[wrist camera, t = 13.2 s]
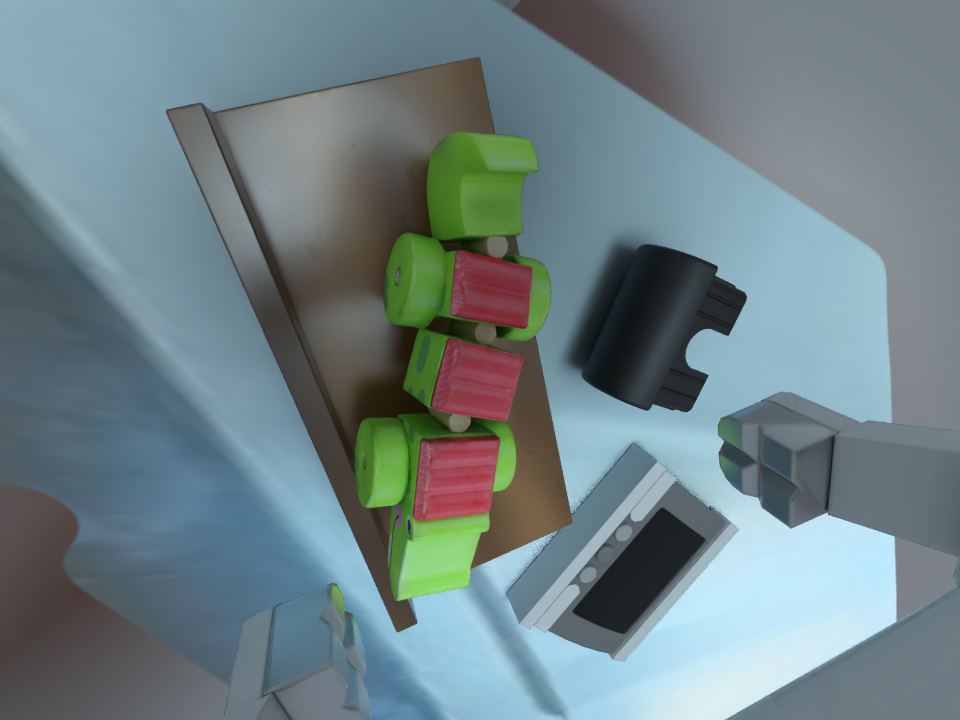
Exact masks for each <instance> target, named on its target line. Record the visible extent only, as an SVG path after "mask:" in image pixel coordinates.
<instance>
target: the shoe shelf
mask: <svg viewBox="0 0 960 720" xmlns="http://www.w3.org/2000/svg"><path fill="white" fill-rule="evenodd" d="M166 114H167V116H168V118H169V120H170V123H171V125H172V127H173V129H174V132H175V134H176V136H177V138H178V141H179V143H180V145H181V147H182V150H183V152H184V154H185V156H186V159H187V161H188V163H189V165H190V168H191V170H192V172H193V174H194V177H195V179H196V181H197V183H198V186H199V188H200V190H201V192H202V195H203V197H204V199H205V201H206V204H207V206H208V208H209V210H210V213H211V215H212V217H213V219H214V222H215V224H216V226H217V228H218V231H219V233H220V235H221V237H222V240H223V242H224V244H225V246H226V249H227V251H228V253H229V255H230V258H231V260H232V262H233V264H234V267H235V269H236V271H237V273H238V276H239V278H240V280H241V282H242V285H243V287H244V289H245V291H246V294H247V296H248V298H249V300H250V303H251V305H252V307H253V310H254V312H255V314H256V316H257V319H258V321H259V323H260V325H261V328H262V330H263V332H264V334H265V337H266V339H267V341H268V343H269V346H270V348H271V350H272V352H273V355H274V357H275V359H276V361H277V364H278V366H279V368H280V370H281V373H282V375H283V377H284V379H285V382H286V384H287V386H288V388H289V391H290V393H291V395H292V397H293V400H294V402H295V404H296V406H297V409H298V411H299V413H300V415H301V418H302V420H303V422H304V424H305V427H306V429H307V431H308V433H309V436H310V438H311V440H312V442H313V445H314V447H315V449H316V451H317V454H318V456H319V458H320V460H321V463H322V465H323V467H324V469H325V472H326V474H327V476H328V478H329V481H330V483H331V485H332V487H333V490H334V492H335V494H336V496H337V499H338V501H339V503H340V506H341V508H342V510H343V512H344V515H345V517H346V519H347V521H348V524H349V526H350V528H351V530H352V533H353V535H354V537H355V539H356V542H357V544H358V546H359V548H360V551H361V553H362V555H363V557H364V560H365V562H366V564H367V566H368V569H369V571H370V573H371V575H372V578H373V580H374V582H375V584H376V587H377V589H378V591H379V593H380V596H381V598H382V600H383V602H384V605H385V607H386V609H387V611H388V614H389V616H390V618H391V620H392V623H393V625H394V627H395V629H396V631H397V632H400V631H402V630H404V629H406V628H409V627H411V626H413V625H415V624H417V619H416V614H415V610H414V606H413V601H412V598H409V599H404V600H400V601H396V600H395V599H394V596H393V593H392V588H391V580H390V572H389V568H388V547H389V536H390V521H391V508H392V506H383V507H373V508H366V507H364V506H363V505H362V504H361V502H360V500H359V497H358V493H357V488H356V482H355V447H356V439H357V434H358V430H359V427H360V425H361V423H362V421H363V420H364V419H366V418H397V417H398V415H399V414H418V413H430V412H429V410H428V407H427V406H426V405H424V404H423V403H422V402H421V401H419V400H418V399H417V398H415V397H414V396H413V395H411V394H410V393H408V392H407V391H405V390H404V388H403V384H404V381H405V378H406V374H407V370H408V366H409V362H410V359H411V355H412V351H413V348H414V344H415V339H416V336H417V333H418V329H419V328H417V327H411V326H402V325H396V324H393V323H391V322H390V321H389V320H388V319H387V316H386V313H385V308H384V282H385V275H386V268H387V265H388V261H389V257H390V254H391V252H392V249H393V247H394V245H395V242H396V241H397V239H398V238H399V237H400V236H401V235H402V234H404V233H413V234H418V235H422V236H426V237H429V238H432V232H431V225H430V218H429V210H428V202H427V175H428V168H429V162H430V158H431V155H432V152H433V149H434V148H435V147H436V145H437V144H438V143H439V142H440V141H441V140H443V139H444V138H445V137H446V136H448V135H449V134H451V133H454V132H469V133H481V134H493V135H495V131H494V126H493V121H492V116H491V111H490V106H489V101H488V96H487V91H486V86H485V81H484V76H483V71H482V66H481V61H480V58H479V57H476V58H471V59H466V60H461V61H456V62H452V63H447V64H442V65H437V66H432V67H428V68H423V69H418V70H413V71H408V72H404V73H399V74H394V75H389V76H384V77H380V78H375V79H370V80H365V81H360V82H356V83H351V84H346V85H341V86H336V87H332V88H327V89H322V90H317V91H312V92H308V93H303V94H298V95H293V96H289V97H284V98H279V99H274V100H269V101H265V102H260V103H255V104H250V105H245V106H241V107H236V108H231V109H226V110H221V111H217V112H212V111H211V110H210V109H209V108H207V107H206V106H205V105H204V104H202V103H196V104H191V105H186V106H181V107H176V108H172V109H167V110H166ZM506 240H507V243H508V250H507V253H506V254H505V255H504V256H503V257H502V258H504V257H505V256H508V255H518V256H519V251H518V246H517V241H516V236H513V237H509V238H506ZM440 244H441V245H442V246H443V248H444V250H445V251H447V252H451V251H459V250H461V247H462V245H461V244H460V243H459V242H449V243H440ZM450 321H451V318H441V319H436V318H434V319H433V321H432V322H431V323H430V324H429V325H428V326H427V327H425V328H427V329H431V330H434V331H438V332H442V333H448V332H449V330H450ZM489 345H492V346H495V347H498V348H500V349H504V350H508V351H511V352H514V353H517V354H519V355H521V356H523V357H524V360H523V364H522V367H521V371H520V375H519V379H518V383H517V387H516V390H515V394H514V398H513V402H512V405H511V409H510V413H509V417H508V420H507V421H506V422H507V423H508V425H509V427H510V429H511V432H512V434H513V437H514V442H515V448H516V469H515V473H514V477H513V479H512V481H511V483H510V484H509V486H508V487H507V488H505V489H504V490H501V491H495V492H493V495H492V503H491V509H490V511H489V518H490V525H489V530H488V531H487V532H481V534H480V537H479V541H478V543H477V547H476V550H475V554H474V557H473V560H472V563H471V568H470V569H472V568H474V567H476V566H479V565H481V564H483V563H485V562H488V561H490V560H492V559H494V558H497V557H499V556H501V555H503V554H506V553H508V552H510V551H512V550H514V549H517V548H519V547H521V546H523V545H526V544H528V543H530V542H532V541H535V540H537V539H539V538H541V537H544V536H546V535H548V534H550V533H552V532H555V531H557V530H559V529H561V528H564V527H566V526H568V525H570V524H572V523H573V521H572V516H571V511H570V506H569V501H568V496H567V491H566V486H565V481H564V476H563V471H562V466H561V461H560V456H559V451H558V446H557V441H556V436H555V431H554V426H553V421H552V416H551V411H550V406H549V401H548V396H547V391H546V386H545V381H544V376H543V371H542V366H541V361H540V356H539V351H538V346H537V341H536V336H534V337H532V338H531V339H529V340H526V341H512V340H503V339H498V338H496V337H495V338H494V340H493V341H492V342H491V343H490V344H489Z"/></svg>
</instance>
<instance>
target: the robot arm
mask: <svg viewBox="0 0 960 720" xmlns="http://www.w3.org/2000/svg"><path fill="white" fill-rule="evenodd" d="M718 436H719V437H720V438H721V439H723V440H724V443H723V445H722V447H721V449H720V451H719V462H720V467H721V469H722V471H723V473H724V475H725V477H726V479H727V480H728V481H729V482H730V483H731V485H732V486H733V487H735V488H736V489H737V490H739V491H740V492H741V493H743V494H745V495H749V496H753V497H758V498H759V500H760V503H761V507H762V508H763V509H765V510H766V511H767V512H769V513H770V514H772V515H773V516H774V517H776V518H777V519H779V520H780V521H781V522H783V523H784V524H786V525H787V526H788V527H790V528H791V529H792V528H794V527H796V526H798V525H800V524H803V523H805V522H807V521H809V520H811V519H814V518H816V517H818V516H820V515H822V514H825V513H827V512H828V515H831V516H834V517H837V518H840V519H843V520H846V521H849V522H852V523H855V524H858V525H861V526H865V527H868V528H871V529H874V530H877V531H880V532H883V533H886V534H889V535H892V536H895V537H898V538H902V539H905V540H908V541H911V542H914V543H917V544H920V545H923V546H926V547H929V548H932V549H935V550H939V551H941V552H945V553H948V554H951V555H954V556H957V557H958V558H957V562H956V566H955V570H954V574H953V577H954V580H955V583H956V584H957V585H958V587H956V588H955V589H953V590H951V591H949V592H948V593H946V594H945V595H942V596H941V597H939V598H937V599H935V600H934V601H932V602H930V603H928V604H927V605H925V606H923V607H921V608H920V609H918V610H916V611H914V612H913V613H911V614H909V615H907V616H906V617H904V618H902V619H900V620H899V621H897V622H895V623H893V624H892V625H890V626H888V627H886V628H885V629H883V630H881V631H879V632H878V633H876V634H874V635H872V636H871V637H869V638H867V639H865V640H864V641H862V642H860V643H858V644H857V645H855V646H853V647H851V648H850V649H848V650H846V651H844V652H843V653H841V654H839V655H837V656H836V657H834V658H832V659H830V660H829V661H827V662H825V663H823V664H822V665H820V666H818V667H816V668H815V669H813V670H811V671H809V672H808V673H806V674H804V675H802V676H801V677H799V678H797V679H795V680H794V681H792V682H790V683H788V684H787V685H785V686H783V687H781V688H780V689H778V690H776V691H774V692H773V693H771V694H769V695H767V696H766V697H764V698H762V699H760V700H759V701H757V702H755V703H753V704H752V705H750V706H748V707H746V708H745V709H743V710H741V711H740V712H738V713H736V714H734V715H733V716H731V717H729V718H727V719H726V720H960V431H957V430H948V429H940V428H939V429H938V428H931V427H922V426H912V425H904V424H895V423H886V422H877V421H869V420H868V421H866V422H863V423H861V422H858V421H856V420H854V419H851V418H849V417H847V416H844V415H842V414H840V413H837V412H835V411H833V410H830V409H828V408H826V407H823V406H821V405H819V404H816V403H814V402H812V401H809V400H807V399H805V398H802V397H800V396H798V395H795V394H793V393H791V392H779V393H777V394H775V395H772V396H770V397H768V398H766V399H763V400H761V401H760V402H757V403H755V404H753V405H751V406H748V407H746V408H744V409H741V410H739V411H737V412H734V413H732V414H730V415H727V416H725V417H723V418H721V420H720V422H719V424H718ZM366 670H367V665H366V656H365V650H364V646H363V641H362V637H361V634H360V631H359V628H358V625H357V623H356V621H355V619H354V617H353V615H352V614H351V613H348V612H346V611H344V597H343V595H342V593H341V591H340V590H339V588H338V586H337V584H335V583H331V584H328V585H326V586H323V587H321V588H318V589H316V590H313V591H310V592H308V593H305V594H303V595H300V596H298V597H295V598H293V599H290V600H288V601H285V602H283V603H280V604H278V605H276V606H275V607H272V608H269V609H267V610H264V611H262V612H259V613H257V614H254V615H252V616H249V617H246V619H245V620H244V622H243V624H242V625H241V628H240V633H239V639H238V644H237V649H236V654H235V660H234V665H233V670H232V675H231V681H230V686H229V691H228V697H227V702H226V707H225V712H224V715H223V716H220V717H218V718H216V719H214V720H371V709H370V697H369V693H368V691H367V689H366V687H365V685H364V684H363V682H362V679H363V677H364V674H365V672H366Z"/></svg>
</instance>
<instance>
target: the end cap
mask: <svg viewBox="0 0 960 720" xmlns="http://www.w3.org/2000/svg"><path fill="white" fill-rule="evenodd" d="M717 270H718V267H717V266H716V265H714V264H712V263H710V262H707V261H705V260H703V259H700V258H697V257H695V256H692V255H689V254H686V253H684V252H680V251H677V250H674V249H670V248H666V247H662V246H657V245H651V244H644V245H641V246H640V247H639V248H638V250H637V252H636V254H635V257H634V259H633V261H632V263H631V266H630V268H629V270H628V272H627V275H626V277H625V279H624V281H623V284H622V286H621V288H620V290H619V292H618V295H617V297H616V299H615V301H614V304H613V306H612V308H611V310H610V313H609V315H608V317H607V319H606V321H605V324H604V326H603V328H602V330H601V333H600V335H599V337H598V339H597V342H596V344H595V346H594V348H593V350H592V353H591V355H590V357H589V359H588V362H587V364H586V366H585V368H584V371H583V373H582V377H583V379H584V380H585V381H586V382H587V383H589V384H590V385H592V386H593V387H595V388H597V389H598V390H600V391H602V392H604V393H606V394H608V395H610V396H612V397H614V398H616V399H618V400H620V401H623V402H625V403H627V404H630V405H632V406H635V407H638V408H640V409H643V410H646V411H647V410H649V409H650V408H651V406H652V404H654V405H658V406H661V407H664V408H667V409H670V410H679V411H682V412H688V411H690V410H691V409H692V407H693V405H694V403H695V401H696V399H697V397H698V395H699V393H700V391H701V389H702V388H703V386H704V384H705V382H706V380H707V378H708V376H709V375H707V374H705V373H702V372H700V371H697V370H694V369H692V368H690V367H689V366H688V364H687V362H686V357H685V353H686V348H687V345H688V343H689V341H690V340H691V338H692V337H693V336H694V335H695V334H696V333H698V332H699V331H701V330H703V329H712V330H715V331H717V332H719V333H722V334H724V335H727V336H729V334H730V332H731V330H732V328H733V326H734V324H735V322H736V320H737V318H738V316H739V314H740V312H741V310H742V308H743V306H744V304H745V302H746V300H747V296H746V294H745V292H743V291H741V290H739V289H737V288H736V287H735V286H734V285H733V284H731V283H729V282H727V281H725V280H723V279H721V278H719V277H717V276H715V274H716V272H717Z"/></svg>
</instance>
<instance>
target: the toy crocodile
mask: <svg viewBox="0 0 960 720" xmlns="http://www.w3.org/2000/svg"><path fill="white" fill-rule="evenodd" d="M538 170H539V164H538V160H537V156H536V152H535V149H534V147H533V145H532V143H531V142H530V141H529V140H528V139H527V138H525V137H518V136H505V135H493V134H481V133H469V132H454V133H451V134H449V135H448V136H446V137H445V138H444V139H443V140H441V141H440V142H439V143H438V144H437V145H436V147H435V148H434V149H433V152H432V155H431V158H430V162H429V168H428V175H427V202H428V210H429V218H430V225H431V232H432V238H429V237H426V236H422V235H418V234H413V233H404V234H402V235H401V236H400V237H399V238H398V239H397V241H396V242H395V245H394V247H393V249H392V252H391V254H390V257H389V261H388V265H387V268H386V275H385V282H384V308H385V313H386V316H387V319H388V320H389V321H390V322H391V323H393V324H396V325H402V326H411V327H417V328H419V329H418V333H417V336H416V339H415V344H414V348H413V351H412V355H411V359H410V362H409V366H408V370H407V374H406V378H405V381H404V384H403V388H404V390H405V391H407V392H408V393H410V394H411V395H413V396H414V397H415V398H417V399H418V400H419V401H421V402H422V403H423V404H424V405H426V406H427V407H428V410H429V412H430V413H418V414H399V415H398V417H397V418H366V419H364V420H363V421H362V423H361V425H360V427H359V430H358V434H357V439H356V447H355V482H356V488H357V493H358V497H359V500H360V502H361V504H362V505H363V506H364V507H366V508H373V507H383V506H392V508H391V521H390V536H389V547H388V568H389V572H390V580H391V588H392V593H393V596H394V599H395V600H396V601H400V600H404V599H409V598H414V597H419V596H424V595H429V594H434V593H439V592H444V591H449V590H454V589H461V588H466V587H467V586H468V584H469V581H470V568H471V563H472V560H473V557H474V554H475V550H476V547H477V543H478V541H479V537H480V534H481V532H487V531H488V530H489V525H490V518H489V511H490V509H491V503H492V495H493V492H495V491H501V490H504V489H505V488H507V487H508V486H509V484H510V483H511V481H512V479H513V477H514V473H515V469H516V448H515V442H514V437H513V434H512V432H511V429H510V427H509V425H508V423H507V422H506V421H507V420H508V417H509V413H510V409H511V405H512V402H513V398H514V394H515V390H516V387H517V383H518V379H519V375H520V371H521V367H522V364H523V360H524V357H523V356H521V355H519V354H517V353H514V352H511V351H508V350H504V349H500V348H498V347H495V346H492V345H489V344H490V343H491V342H492V341H493V340H494V338H495V337H496V338H498V339H503V340H512V341H526V340H529V339H531V338H532V337H534V336H535V335H536V334H537V333H538V332H539V330H540V329H541V327H542V325H543V324H544V322H545V320H546V317H547V314H548V312H549V307H550V301H551V282H550V277H549V274H548V271H547V269H546V267H545V266H544V265H543V264H542V263H541V262H540V261H538V260H536V259H533V258H527V257H522V256H518V255H508V256H505V257H504V258H502V257H503V256H504V255H505V254H506V253H507V250H508V243H507V240H506V238H509V237H513V236H517V235H520V234H521V233H522V221H521V190H522V185H523V180H524V178H525V176H526V175H527V173H531V172H537V171H538ZM449 242H459V243H460V244H461V245H462V247H461V250H459V251H451V252H447V251H445V250H444V248H443V246H442V245H441V244H440V243H449ZM434 318H436V319H441V318H451V321H450V330H449V332H448V333H442V332H438V331H434V330H431V329H427V328H425V327H427V326H428V325H429V324H430V323H431V322H432V321H433V319H434Z"/></svg>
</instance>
